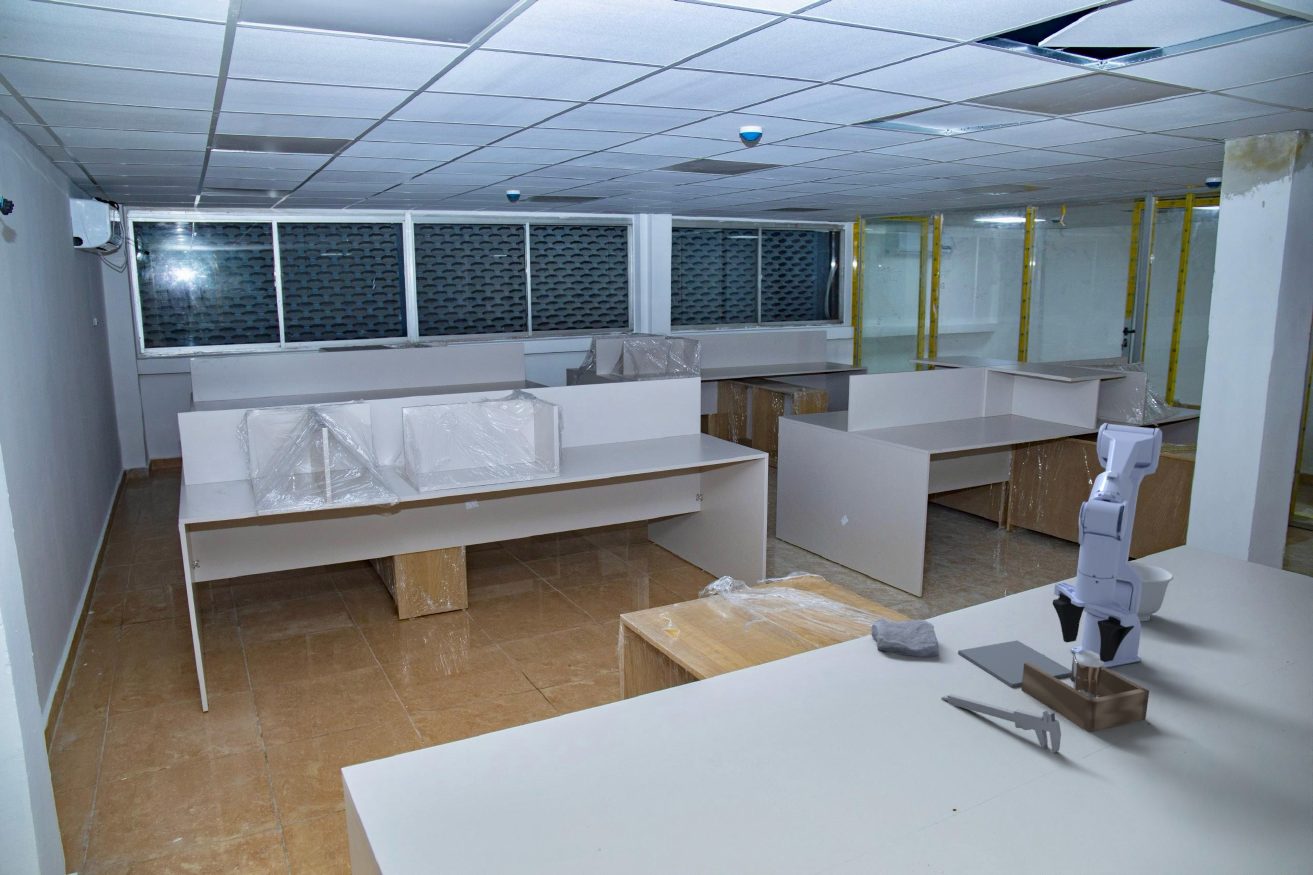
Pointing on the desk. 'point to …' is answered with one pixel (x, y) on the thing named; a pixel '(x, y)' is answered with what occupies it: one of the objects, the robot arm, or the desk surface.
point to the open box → (1110, 709)
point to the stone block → (906, 637)
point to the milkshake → (1087, 672)
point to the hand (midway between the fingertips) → (1087, 650)
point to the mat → (1012, 661)
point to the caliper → (1016, 719)
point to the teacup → (1151, 588)
